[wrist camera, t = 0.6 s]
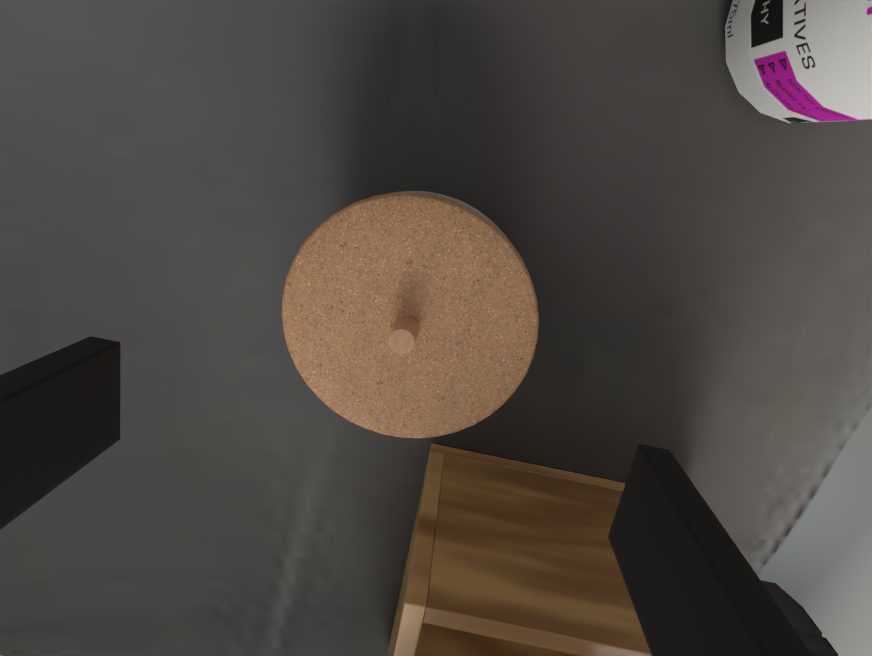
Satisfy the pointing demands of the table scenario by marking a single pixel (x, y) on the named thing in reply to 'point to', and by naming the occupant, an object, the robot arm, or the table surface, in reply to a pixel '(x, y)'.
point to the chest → (513, 564)
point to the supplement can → (802, 58)
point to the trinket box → (410, 314)
